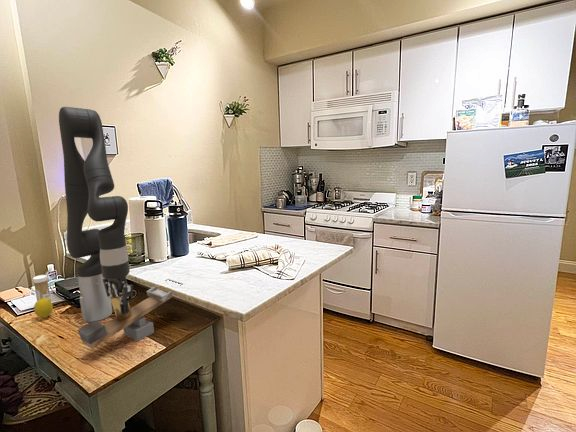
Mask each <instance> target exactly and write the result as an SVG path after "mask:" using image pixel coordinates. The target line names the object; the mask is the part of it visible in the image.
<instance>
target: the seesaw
mask: <svg viewBox="0 0 576 432" xmlns="http://www.w3.org/2000/svg"><path fill="white" fill-rule="evenodd" d="M167 280H169V281H172V282H175V283H178V284H181V285H183V284H184V283H182V282H179V281H176V280H173V279H170V278H167V279H165V280H164V281H167ZM157 285H158V284H156V285H155V286H153V287H151V288H150V289H148V290H146V291H145V292H146V294H147V296H148V298H146V299H143V300H142V301H140V302H139V303H137V304H136V305H134V306H132V307H130V309H131V312H132V314H131V315H130V316H129V317H128V318H126V319H123V320H118V319H117V317H116V316H115V317H114V318H112V319H111V320H108V321H107V322H105V323H104V324H102V323H100V322H99V321H95V320H94V321H92V322H89V323H87V324H86V325H83V326H82V327H80V328H78V329H77V332H78V333H77V334H78V335H79V338H80V339H81V342H82V344H84V345H86V346H87V347H89V348H90V349H94V348H95V347H97V346H99V345H100V344H102V343H103V342H105V341H107V340H108V339H110V338H111V337H113V336H115V335H116V334H118V333H119V332H121V331H122V330H124V328H125V327H127V326H128V325H130V324H131V323H133V322H135V321H136V320H138V319H139V318H141V317H142V316H144V317H145V315H147V314H148V313H150V312H152V311H153V310H155V309H156V308H158V307H159V306H161V305H162V304H164V303H165V302H168V301H169V300H171V299H172V298H173V297H174V296H172V290H171V291H169V292H168V293H166V292H164V291H162V290H159V289H157ZM181 285H180V286H181Z"/></svg>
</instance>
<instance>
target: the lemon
mask: <svg viewBox="0 0 576 432" xmlns="http://www.w3.org/2000/svg"><path fill="white" fill-rule="evenodd" d="M34 303H35V304H34V306H33V309H34V310H33V311H34V314H35V315H36V317H39V318H44V319H46V318H47V317H48V316H50V315H51V314H52V313H53V309H54V307H53V306H54V305H53V302H52V300H51V301H50V300H49V299H46V298H41V299H40V300H38V301H37V300H36V302H34Z"/></svg>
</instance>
